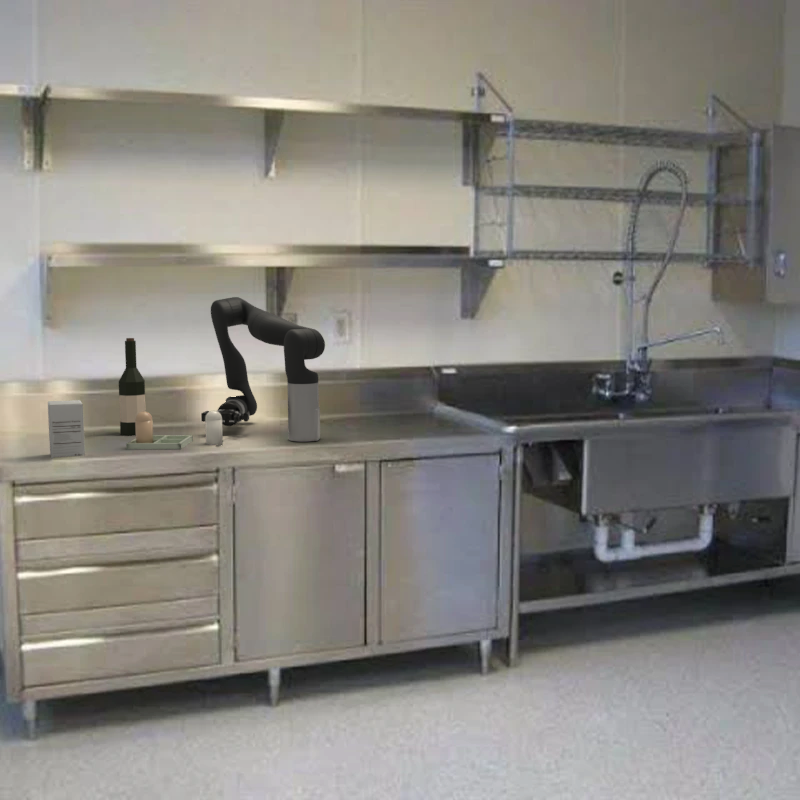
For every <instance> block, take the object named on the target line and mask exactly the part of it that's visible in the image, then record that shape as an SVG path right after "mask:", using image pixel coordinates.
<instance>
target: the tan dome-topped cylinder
mask: <svg viewBox="0 0 800 800" xmlns="http://www.w3.org/2000/svg"><path fill="white" fill-rule="evenodd" d="M135 427H136V436H135V438H136V443H153V435H154V422H153V416H152V414H151V413H149V411H142V412H140V413H138V414H137V415H136V418H135Z"/></svg>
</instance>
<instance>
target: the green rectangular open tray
mask: <svg viewBox="0 0 800 800" xmlns="http://www.w3.org/2000/svg"><path fill="white" fill-rule="evenodd" d="M193 441H194V434H193V435H192V434H188V435H187V434H185V435H182V434H181V435H180V434H179V435H178V434H177V435H176V434H173V435H172V434H171V435H168V434H166V435H165V434H163V435H162V434H160V435H159V434H153V443H136V437H135V438H134V439H132V440H130V441H128V442H127V443H125V445H126V446H125V448H126V449H125V450H182V449H184V448H185V447H186V446H188V445H190V443H192V442H193Z"/></svg>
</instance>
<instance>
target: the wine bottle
mask: <svg viewBox="0 0 800 800" xmlns="http://www.w3.org/2000/svg"><path fill="white" fill-rule="evenodd" d="M136 345H137V342H136V340H135V338H134V337H126V339H125V341H124V352H125V369H124V371H123V372H122V374H121V377H120V378H119V380H118V399H119V400H118V401H119V402H118V404H119V405H118V406H119V427H120V434H119V435H120V436H124V437H126V436H127V437H133V436H132V435H136V427H135V418H136V415H137V414H138V413H140V412H142V411H146V410H147V409H146V407H147V406H146V384H145V383H146V382H145V379H144V377H143V375H142V374H141V372H140V371H139V369H138V367H137V366H138V365H137V347H136ZM146 412H147V411H146Z"/></svg>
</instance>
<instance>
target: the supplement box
mask: <svg viewBox="0 0 800 800" xmlns="http://www.w3.org/2000/svg"><path fill="white" fill-rule="evenodd" d="M83 405H84V403H83V402H82V401H81V399H73V400H72V399H71V400H50V401H47V417H48V437H49V438H48V439H49V440H48V441H49V453H50V457H51V459H53V458H59V457H60V458H61V457H75V456H76V457H77V456H78V457H79V456H85V455H86V448H85V423H84V422H85V421H84V406H83Z"/></svg>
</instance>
